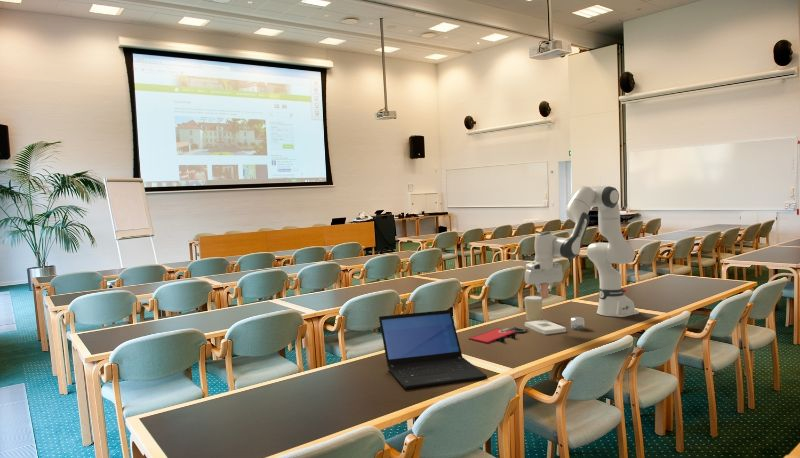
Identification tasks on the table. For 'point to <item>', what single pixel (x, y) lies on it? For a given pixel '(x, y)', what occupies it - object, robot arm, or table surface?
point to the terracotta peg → (544, 290)
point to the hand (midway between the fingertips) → (544, 291)
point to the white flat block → (545, 327)
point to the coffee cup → (533, 308)
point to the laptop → (425, 349)
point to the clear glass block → (577, 323)
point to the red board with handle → (497, 335)
